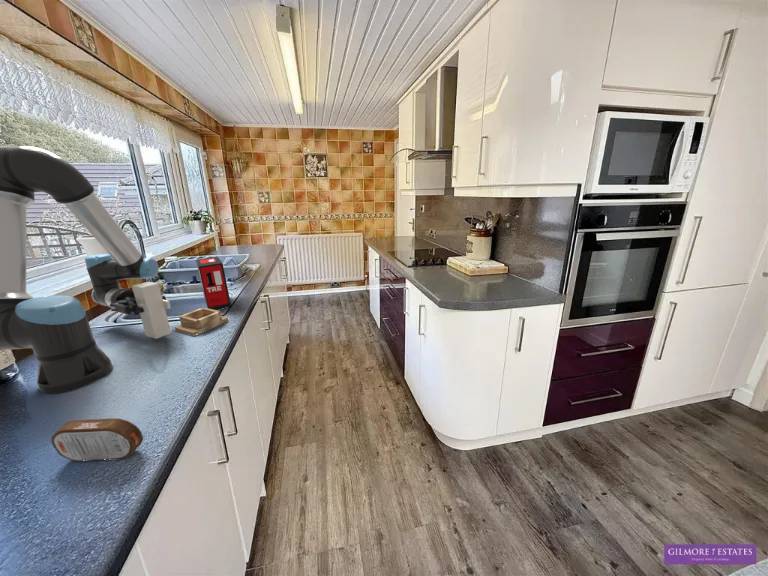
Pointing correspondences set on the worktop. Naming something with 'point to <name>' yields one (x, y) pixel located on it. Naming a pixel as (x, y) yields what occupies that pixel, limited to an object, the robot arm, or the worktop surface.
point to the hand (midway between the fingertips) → (159, 307)
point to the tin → (97, 439)
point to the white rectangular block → (152, 297)
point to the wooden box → (200, 321)
